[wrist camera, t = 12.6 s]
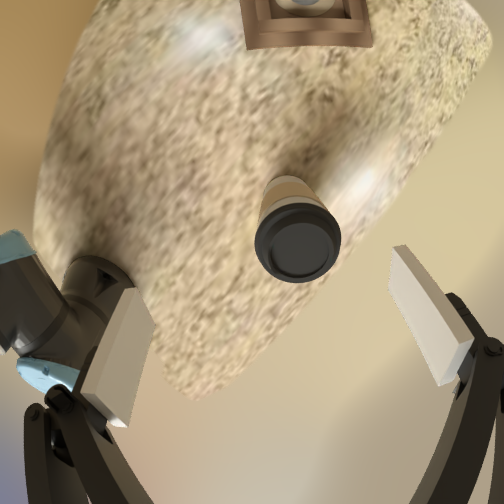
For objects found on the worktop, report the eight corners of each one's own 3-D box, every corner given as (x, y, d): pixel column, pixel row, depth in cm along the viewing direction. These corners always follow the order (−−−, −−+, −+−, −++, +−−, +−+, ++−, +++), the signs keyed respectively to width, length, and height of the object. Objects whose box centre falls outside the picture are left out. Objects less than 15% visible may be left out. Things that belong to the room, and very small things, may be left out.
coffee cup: (310, 160, 38) (339, 202, 25) (324, 218, 43) (352, 280, 30) (246, 178, 40) (241, 228, 27) (265, 234, 44) (269, 301, 31)
